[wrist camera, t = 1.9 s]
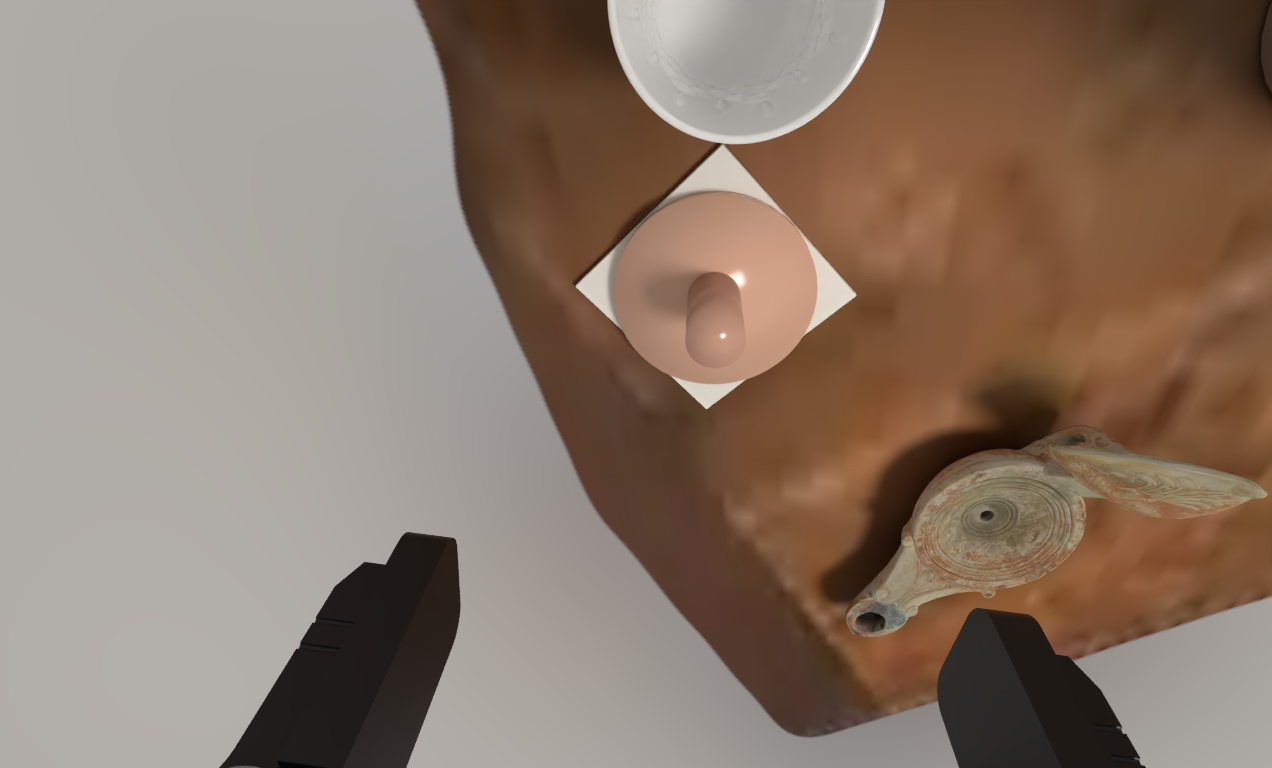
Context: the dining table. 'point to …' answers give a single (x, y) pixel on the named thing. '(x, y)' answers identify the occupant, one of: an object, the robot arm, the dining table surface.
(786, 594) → the dining table surface
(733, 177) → the mat
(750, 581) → the dining table surface
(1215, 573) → the dining table surface
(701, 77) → the white cup
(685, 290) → the lid
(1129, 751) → the robot arm
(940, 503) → the oil lamp
